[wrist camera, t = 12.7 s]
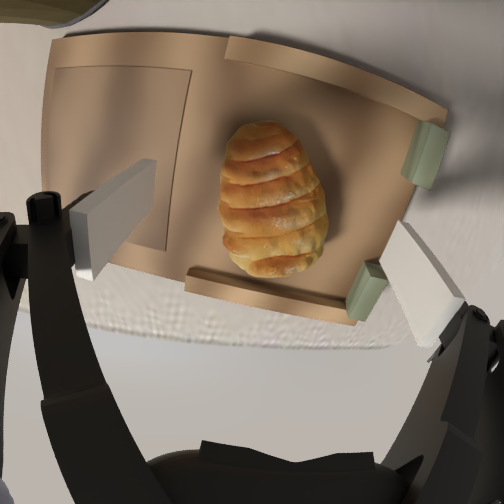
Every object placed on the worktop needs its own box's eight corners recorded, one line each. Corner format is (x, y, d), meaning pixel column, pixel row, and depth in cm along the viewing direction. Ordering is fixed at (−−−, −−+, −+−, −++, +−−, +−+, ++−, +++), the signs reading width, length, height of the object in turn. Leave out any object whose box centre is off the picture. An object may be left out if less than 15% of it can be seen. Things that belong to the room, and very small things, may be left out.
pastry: (205, 129, 17) (189, 138, 14) (314, 112, 16) (325, 117, 13) (234, 259, 22) (227, 291, 18) (327, 247, 21) (337, 278, 17)
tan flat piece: (53, 239, 23) (35, 255, 21) (60, 40, 14) (35, 38, 12) (350, 310, 25) (356, 334, 22) (434, 107, 16) (456, 112, 13)
